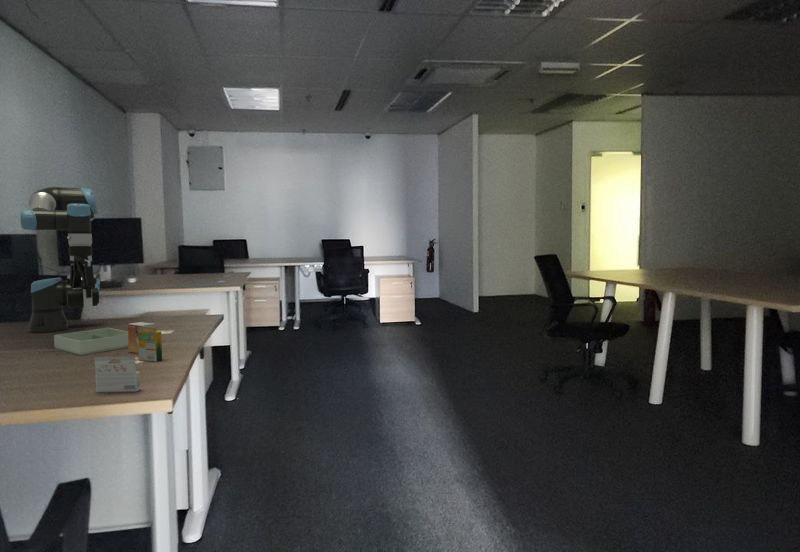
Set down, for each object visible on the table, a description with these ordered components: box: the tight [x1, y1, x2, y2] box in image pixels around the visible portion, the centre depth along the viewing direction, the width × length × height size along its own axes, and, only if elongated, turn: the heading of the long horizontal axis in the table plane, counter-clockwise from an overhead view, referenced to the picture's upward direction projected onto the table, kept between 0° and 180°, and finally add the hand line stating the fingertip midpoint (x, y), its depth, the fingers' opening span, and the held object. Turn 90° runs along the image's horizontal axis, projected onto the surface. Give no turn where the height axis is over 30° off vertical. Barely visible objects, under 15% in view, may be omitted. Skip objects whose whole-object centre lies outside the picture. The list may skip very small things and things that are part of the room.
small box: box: [127, 321, 156, 355], centre depth 190 cm, size 8×6×10 cm
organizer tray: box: [53, 327, 129, 356], centre depth 199 cm, size 22×20×5 cm
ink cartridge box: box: [93, 355, 141, 393], centre depth 141 cm, size 2×11×10 cm, turn 92°
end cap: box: [66, 288, 100, 309], centre depth 196 cm, size 10×7×7 cm
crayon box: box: [138, 326, 163, 362], centre depth 177 cm, size 7×3×12 cm, turn 74°
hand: (83, 305), depth 196 cm, fingers closed on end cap, 8 cm apart
